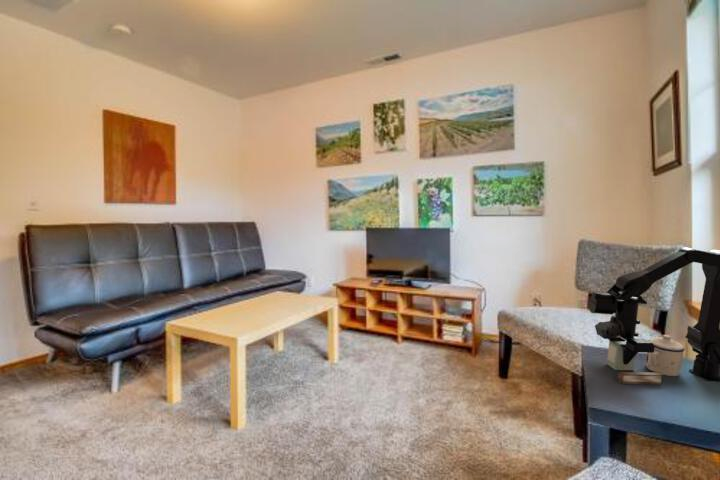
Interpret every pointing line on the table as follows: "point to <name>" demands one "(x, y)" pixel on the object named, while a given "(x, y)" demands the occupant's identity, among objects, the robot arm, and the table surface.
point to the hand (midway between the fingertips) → (620, 361)
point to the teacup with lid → (665, 356)
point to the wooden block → (639, 378)
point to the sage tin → (618, 357)
